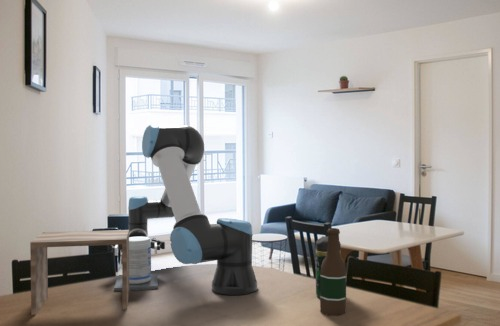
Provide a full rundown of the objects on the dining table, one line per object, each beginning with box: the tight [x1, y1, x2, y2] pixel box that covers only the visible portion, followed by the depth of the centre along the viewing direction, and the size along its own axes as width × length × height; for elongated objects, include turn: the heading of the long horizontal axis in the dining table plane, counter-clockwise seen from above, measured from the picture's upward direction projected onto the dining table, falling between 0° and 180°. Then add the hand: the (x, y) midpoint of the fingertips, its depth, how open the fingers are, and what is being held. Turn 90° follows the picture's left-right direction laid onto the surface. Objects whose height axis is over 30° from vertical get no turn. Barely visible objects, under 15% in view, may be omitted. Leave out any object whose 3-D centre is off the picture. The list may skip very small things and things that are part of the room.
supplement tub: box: [129, 236, 152, 284], centre depth 167 cm, size 10×10×15 cm
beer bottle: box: [319, 227, 347, 317], centre depth 140 cm, size 8×8×24 cm
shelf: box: [29, 229, 130, 316], centre depth 147 cm, size 16×26×20 cm, turn 101°
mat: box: [113, 274, 159, 292], centre depth 168 cm, size 14×14×1 cm
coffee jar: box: [315, 236, 342, 298], centre depth 155 cm, size 10×8×19 cm
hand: (136, 251), depth 170 cm, fingers open, 13 cm apart
